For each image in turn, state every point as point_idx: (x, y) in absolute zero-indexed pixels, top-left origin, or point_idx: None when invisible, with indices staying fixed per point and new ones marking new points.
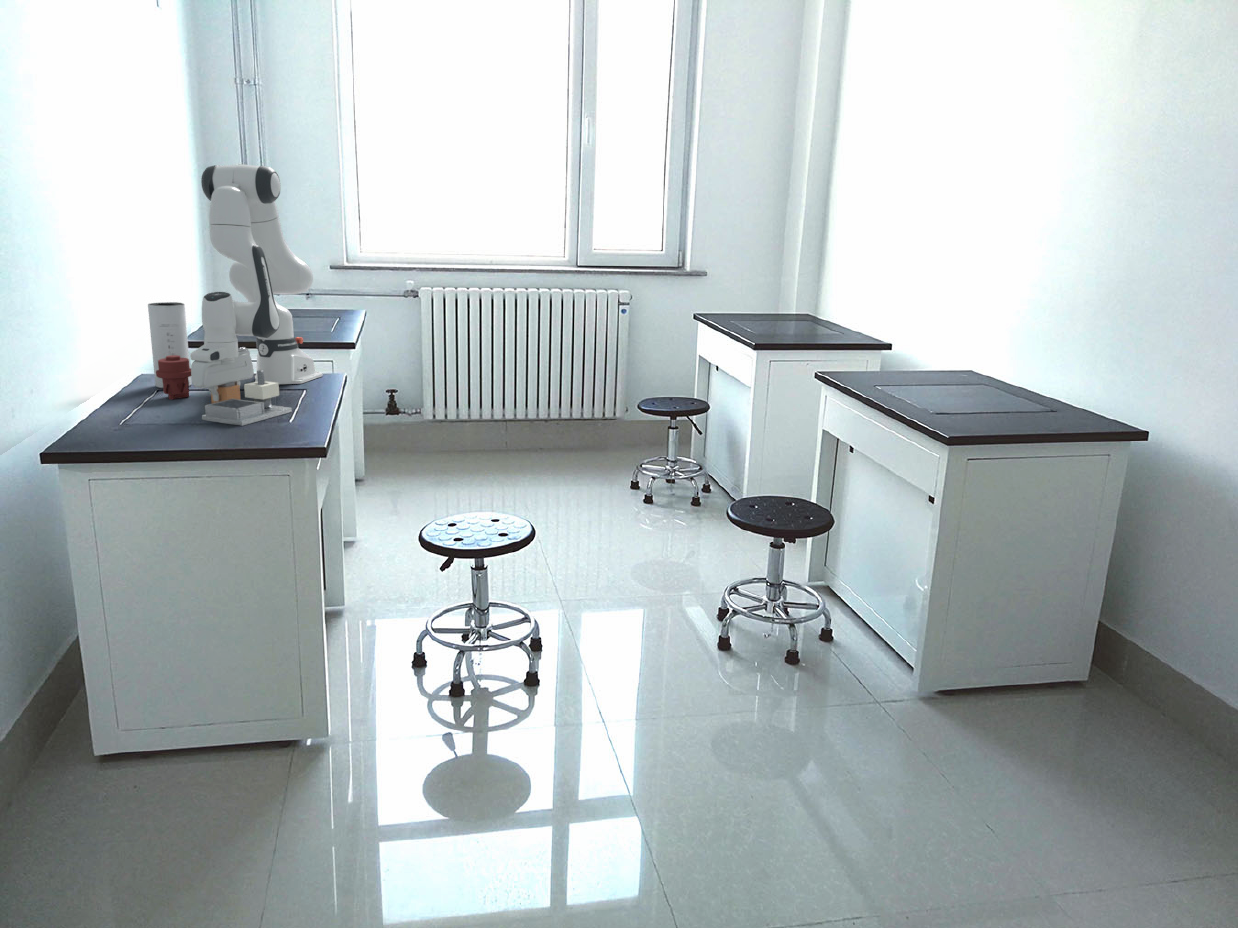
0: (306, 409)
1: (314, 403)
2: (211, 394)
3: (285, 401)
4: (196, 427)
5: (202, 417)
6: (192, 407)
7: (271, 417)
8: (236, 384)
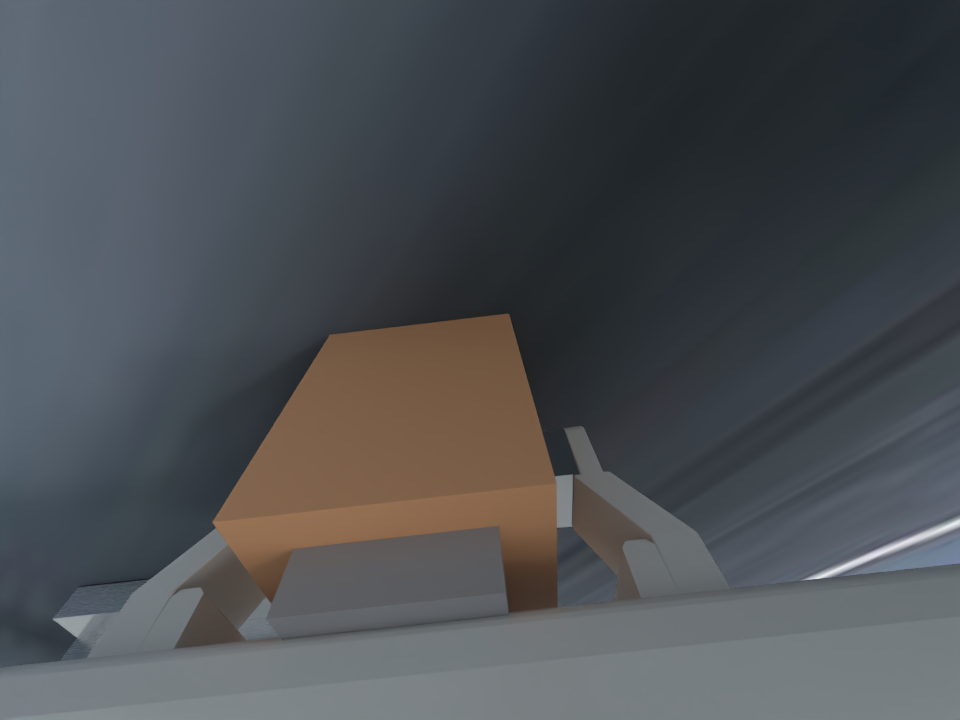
0: None
1: None
2: (283, 425)
3: (763, 551)
4: (5, 659)
5: (67, 607)
6: (132, 197)
7: None
8: (615, 600)
